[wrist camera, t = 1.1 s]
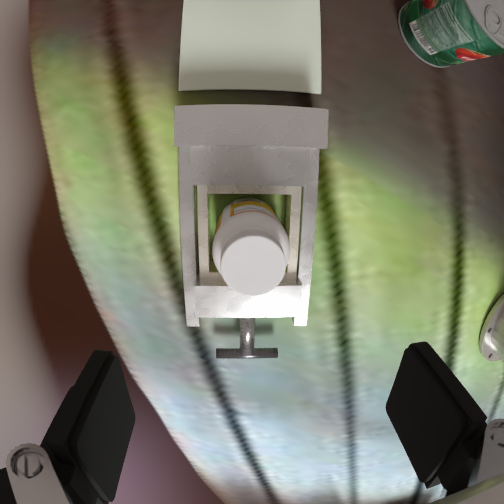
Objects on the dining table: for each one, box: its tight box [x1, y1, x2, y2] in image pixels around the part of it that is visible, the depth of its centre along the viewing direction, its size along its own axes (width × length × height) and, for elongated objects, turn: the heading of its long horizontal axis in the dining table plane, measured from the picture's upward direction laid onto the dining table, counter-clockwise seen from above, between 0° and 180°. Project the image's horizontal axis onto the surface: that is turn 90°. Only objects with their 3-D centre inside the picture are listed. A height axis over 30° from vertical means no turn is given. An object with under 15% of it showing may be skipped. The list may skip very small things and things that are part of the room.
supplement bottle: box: [212, 197, 290, 296], centre depth 24 cm, size 5×5×10 cm
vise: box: [174, 104, 328, 358], centre depth 27 cm, size 12×23×4 cm, turn 179°
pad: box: [179, 0, 321, 94], centre depth 22 cm, size 12×12×1 cm
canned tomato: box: [398, 0, 504, 68], centre depth 17 cm, size 8×8×11 cm
